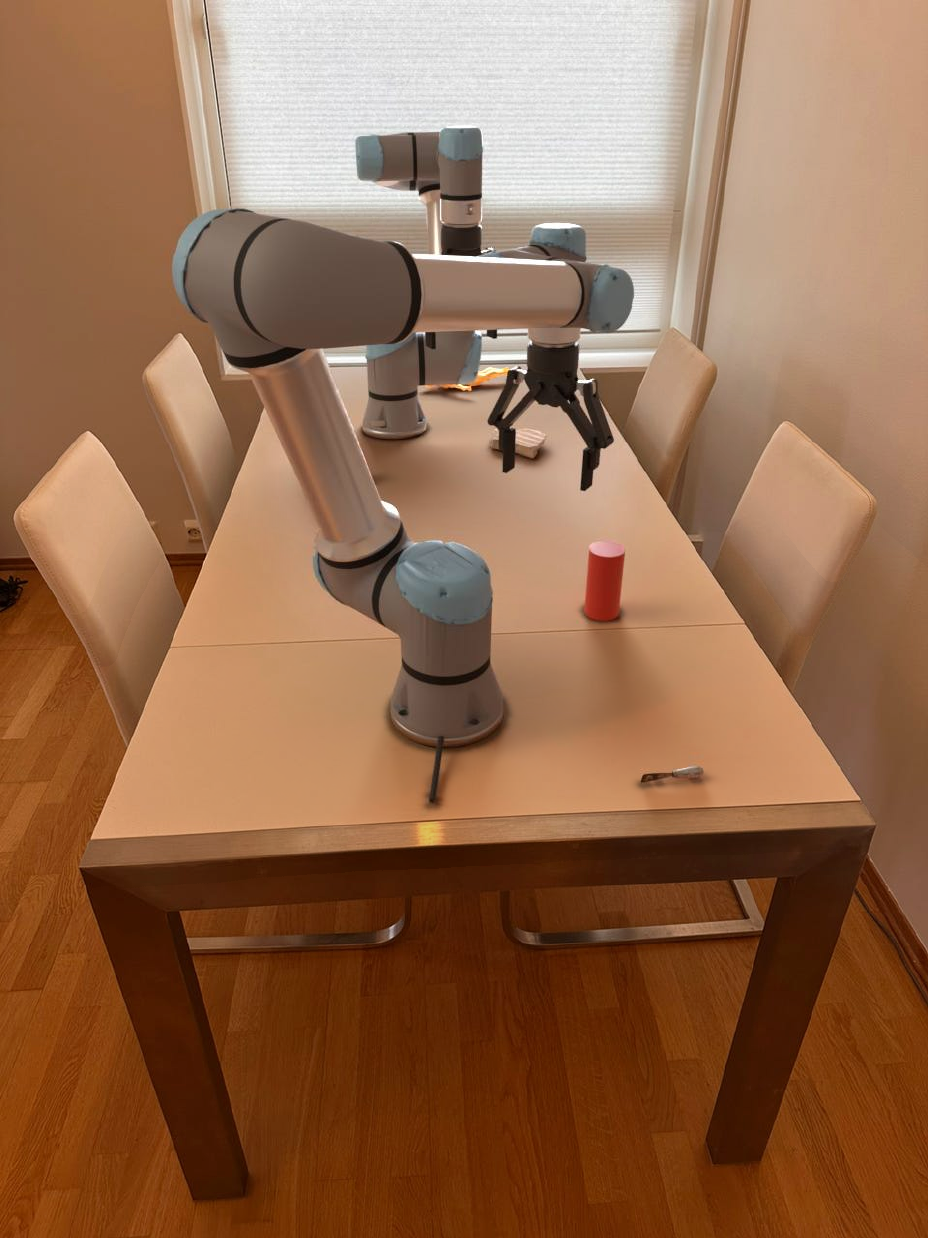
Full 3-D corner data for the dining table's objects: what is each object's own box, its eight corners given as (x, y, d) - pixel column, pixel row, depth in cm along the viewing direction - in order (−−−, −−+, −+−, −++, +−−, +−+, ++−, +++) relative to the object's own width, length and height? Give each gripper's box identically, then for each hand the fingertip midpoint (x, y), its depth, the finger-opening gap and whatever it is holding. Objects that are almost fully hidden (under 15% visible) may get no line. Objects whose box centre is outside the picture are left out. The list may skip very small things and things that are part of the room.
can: (621, 620, 141) (628, 556, 135) (587, 621, 140) (592, 557, 134) (615, 602, 145) (621, 540, 139) (581, 603, 145) (586, 540, 139)
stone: (551, 440, 207) (551, 430, 205) (534, 459, 197) (534, 448, 196) (499, 434, 211) (499, 423, 210) (480, 451, 202) (480, 440, 200)
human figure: (416, 388, 240) (415, 374, 238) (455, 368, 254) (454, 354, 252) (478, 402, 232) (478, 387, 230) (515, 380, 246) (515, 366, 244)
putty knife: (703, 777, 109) (705, 767, 109) (642, 788, 108) (644, 777, 107) (700, 772, 110) (702, 762, 109) (639, 782, 109) (640, 771, 108)
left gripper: (408, 233, 153) (413, 356, 165) (530, 220, 163) (526, 337, 175) (389, 226, 159) (395, 346, 170) (508, 214, 169) (506, 328, 181)
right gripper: (645, 347, 125) (630, 487, 137) (491, 324, 137) (489, 455, 148) (624, 359, 120) (610, 504, 131) (466, 335, 131) (466, 470, 142)
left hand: (461, 342), depth 173 cm, fingers open, 13 cm apart
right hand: (546, 478), depth 140 cm, fingers open, 13 cm apart
